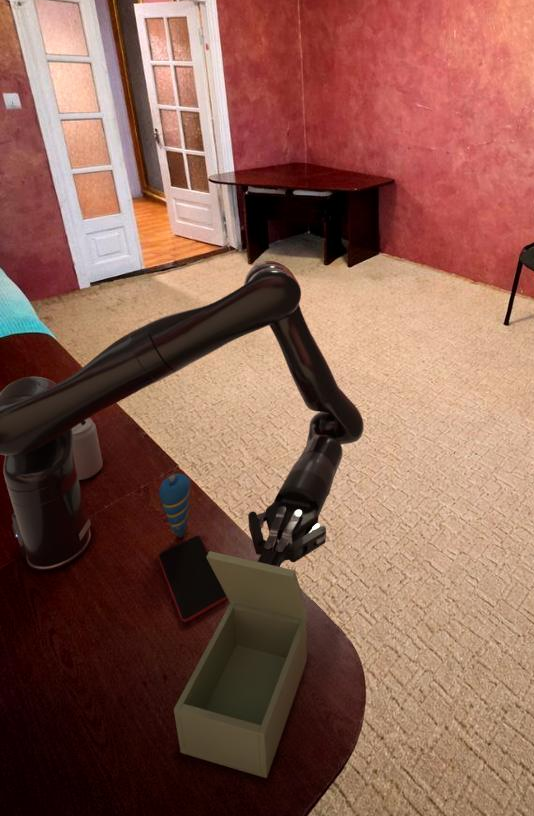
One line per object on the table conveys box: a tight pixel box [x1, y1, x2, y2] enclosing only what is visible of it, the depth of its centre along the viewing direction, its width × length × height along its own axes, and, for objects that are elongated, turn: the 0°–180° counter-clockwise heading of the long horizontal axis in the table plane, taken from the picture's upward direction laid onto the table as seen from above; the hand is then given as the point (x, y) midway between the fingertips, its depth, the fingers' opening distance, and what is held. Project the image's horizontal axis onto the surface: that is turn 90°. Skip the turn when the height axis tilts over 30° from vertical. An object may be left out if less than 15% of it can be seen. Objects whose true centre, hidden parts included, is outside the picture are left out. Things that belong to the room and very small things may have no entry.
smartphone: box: [157, 534, 228, 623], centre depth 82 cm, size 7×1×15 cm
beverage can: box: [72, 417, 104, 481], centre depth 101 cm, size 6×6×12 cm
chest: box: [173, 602, 308, 779], centre depth 64 cm, size 14×12×9 cm
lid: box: [206, 550, 308, 620], centre depth 65 cm, size 14×12×1 cm
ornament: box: [158, 473, 191, 538], centre depth 87 cm, size 5×5×15 cm
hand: (261, 580), depth 65 cm, fingers closed
